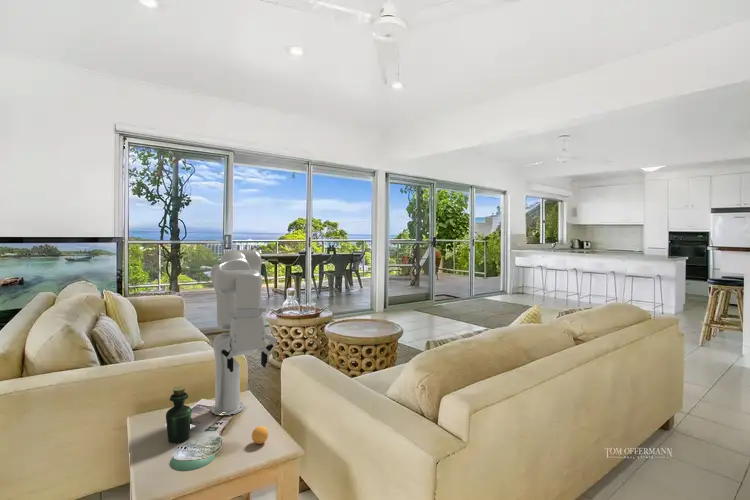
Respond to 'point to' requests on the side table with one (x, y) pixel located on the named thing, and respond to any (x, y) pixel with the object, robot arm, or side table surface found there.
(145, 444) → the side table surface
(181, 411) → the potion bottle
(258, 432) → the ball
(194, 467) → the disc
